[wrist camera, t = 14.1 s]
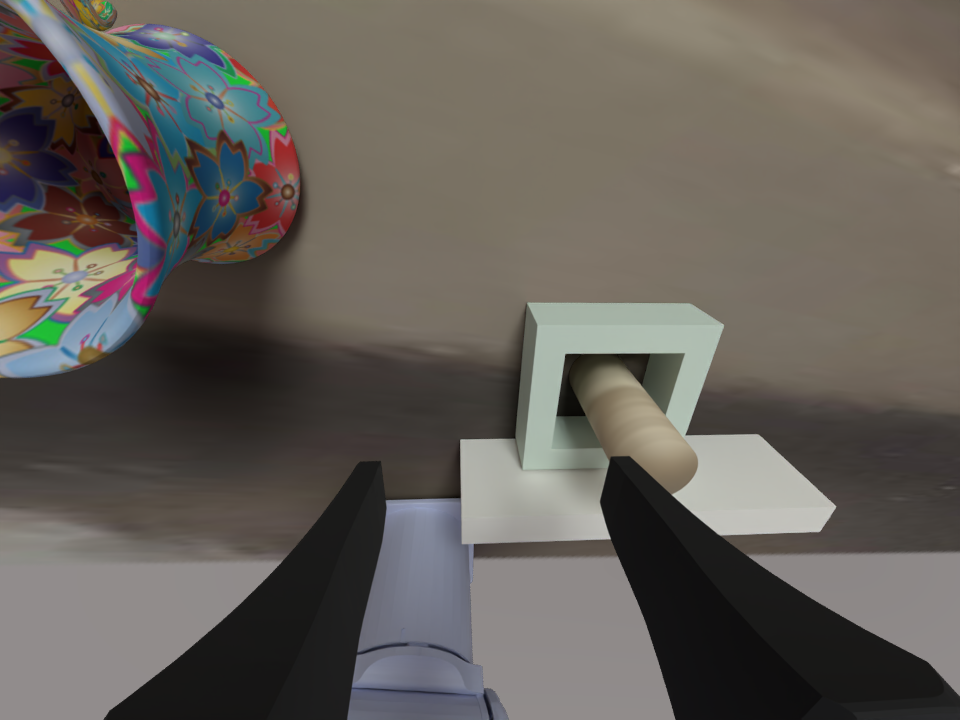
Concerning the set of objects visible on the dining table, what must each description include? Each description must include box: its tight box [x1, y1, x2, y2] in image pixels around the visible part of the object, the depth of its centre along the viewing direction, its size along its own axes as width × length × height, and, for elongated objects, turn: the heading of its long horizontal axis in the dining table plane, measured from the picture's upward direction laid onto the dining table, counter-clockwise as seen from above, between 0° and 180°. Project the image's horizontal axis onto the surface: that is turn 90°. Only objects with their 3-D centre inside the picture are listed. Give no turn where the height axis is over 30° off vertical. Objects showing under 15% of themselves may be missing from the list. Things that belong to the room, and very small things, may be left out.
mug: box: [0, 0, 300, 378], centre depth 11 cm, size 12×9×11 cm
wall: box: [460, 434, 836, 544], centre depth 23 cm, size 2×20×6 cm, turn 89°
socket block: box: [515, 303, 724, 470], centre depth 21 cm, size 9×9×3 cm
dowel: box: [569, 354, 698, 495], centre depth 19 cm, size 3×3×8 cm
